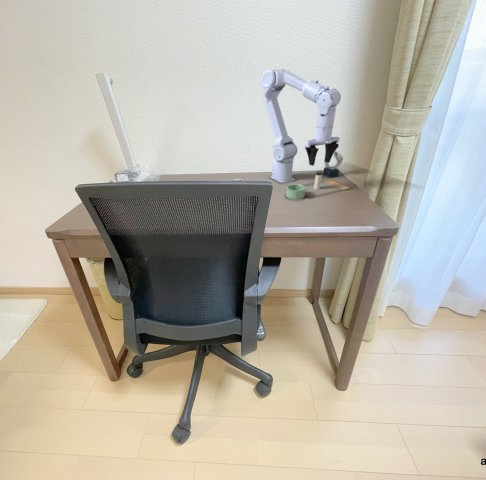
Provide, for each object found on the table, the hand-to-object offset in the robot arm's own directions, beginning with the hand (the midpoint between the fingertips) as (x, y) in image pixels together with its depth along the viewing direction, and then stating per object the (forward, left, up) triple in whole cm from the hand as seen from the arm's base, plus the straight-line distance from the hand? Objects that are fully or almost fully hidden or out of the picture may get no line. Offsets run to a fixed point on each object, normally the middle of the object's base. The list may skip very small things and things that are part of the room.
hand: (319, 163), depth 103 cm
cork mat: (+1, +1, -10) cm, 10 cm away
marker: (+1, -1, -10) cm, 10 cm away
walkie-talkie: (-14, -28, -11) cm, 33 cm away
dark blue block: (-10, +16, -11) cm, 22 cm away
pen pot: (+3, -13, -10) cm, 17 cm away
